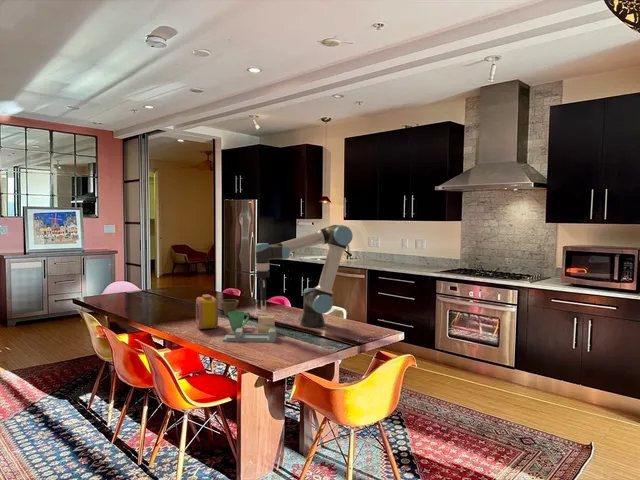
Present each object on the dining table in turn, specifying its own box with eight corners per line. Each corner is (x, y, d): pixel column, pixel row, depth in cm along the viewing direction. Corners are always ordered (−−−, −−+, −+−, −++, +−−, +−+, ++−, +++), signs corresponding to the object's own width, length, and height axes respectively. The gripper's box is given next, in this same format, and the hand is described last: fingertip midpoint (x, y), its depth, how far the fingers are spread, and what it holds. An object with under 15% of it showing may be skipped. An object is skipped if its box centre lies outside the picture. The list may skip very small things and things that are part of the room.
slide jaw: (237, 334, 255) (237, 328, 255) (242, 334, 255) (242, 328, 255) (234, 338, 246) (234, 332, 246) (240, 338, 246) (240, 332, 246)
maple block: (259, 331, 268) (259, 316, 267) (274, 331, 268) (274, 316, 268) (258, 333, 263) (258, 318, 262) (273, 333, 263) (273, 318, 263)
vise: (226, 336, 256) (226, 326, 255) (276, 337, 256) (276, 327, 256) (222, 341, 246) (222, 331, 245) (274, 341, 246) (275, 331, 246)
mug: (234, 332, 265) (234, 315, 265) (224, 329, 272) (224, 312, 272) (254, 327, 276) (254, 311, 276) (244, 325, 283) (244, 309, 282)
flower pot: (239, 316, 306) (239, 301, 305) (221, 317, 303) (221, 302, 302) (237, 313, 317) (237, 298, 316) (221, 313, 314) (221, 299, 313)
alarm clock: (195, 324, 282) (195, 293, 281) (213, 323, 286) (213, 292, 285) (199, 331, 265) (199, 298, 264) (218, 330, 269) (218, 297, 268)
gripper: (255, 269, 266) (256, 309, 268) (257, 272, 253) (257, 313, 255) (268, 268, 268) (268, 308, 269) (270, 271, 255) (271, 313, 257)
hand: (263, 311), depth 262 cm, fingers closed
